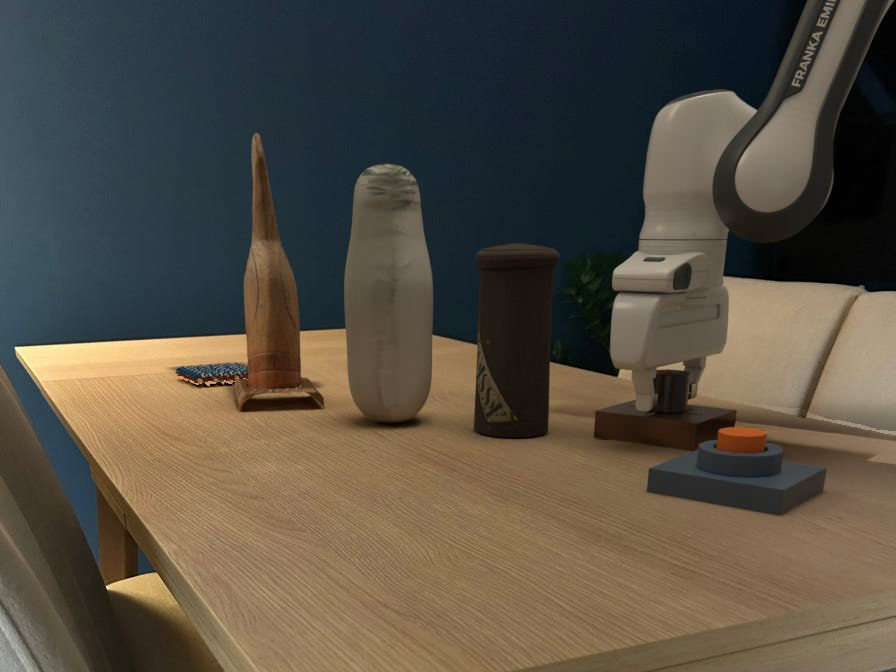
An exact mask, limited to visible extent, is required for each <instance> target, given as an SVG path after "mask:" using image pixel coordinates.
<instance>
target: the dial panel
mask: <svg viewBox="0 0 896 672" xmlns="http://www.w3.org/2000/svg"><path fill="white" fill-rule="evenodd" d="M635 405H636V399H633V400H629V401H625V402H622V403H618V404H614V405H611V406H606V407H603V408H599V409H596V410H595V412H594V427H593V438H595V437H596V439H603V440H612V441H619V442H625V443H632V444H639V445H646V446H653V447H659V448H660V447H661V448H668V449H674V450H680V451H689V452H693V451H695V450H698V445H699V444H700V443H703V442H705V441H709V440H717V438H718V431H719V429H722V428H729V427H736V420H737V411H738V410H737V409H733V408H732V409H731V408H723V407H714V406H708V405H707V406H706V405H699V404H689V403H687V410H686V411H684V412H680V413H660V412H653V411H647V412H646V411H639V410H637V409H636V407H635Z"/></svg>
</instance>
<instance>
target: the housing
mask: <svg viewBox="0 0 896 672" xmlns="http://www.w3.org/2000/svg"><path fill="white" fill-rule="evenodd" d="M716 446H717V440H709V441H705V442H703V443H700V444H699V445H698V450H695V451H689V452H688V453H684V454H682V455H679V456H677V457H674V458H671V459H668V460H666V461H663V462H661V463H659V464H656V465H653V466H651V467H649V468H648V474H647V484H646V493H650V494H657V495H662V496H668V497H674V498H679V499H683V500H684V499H685V500H689V501H696V502H701V503H702V502H703V503H708V504H714V505H717V506H724V507H731V508H735V509H742V510H747V511H752V512H756V513H757V512H758V513H764V514H768V515H769V514H770V515H775V516H782V515H784V514H786V513H788V512H789V511H791V510H792V509H794V508H796V507H798V506H800V505H801V504H803V503H805V502H807V501H809V500H811V499H813V498H814V497H816V496H817V495H819V494H821V493H823V492H824V487H825V481H826V475H827V468H828V467H826V466H819V465H813V464H805V463H797V462H792V461H784V460H783V456H784V450H783V448H782V447H781V446H780V445H777V444H773V443H770V442H767V441H766V443H765V450H764V452H760V453H735V452H728V451H722V450H719V449H716Z"/></svg>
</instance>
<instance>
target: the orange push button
mask: <svg viewBox="0 0 896 672" xmlns="http://www.w3.org/2000/svg"><path fill="white" fill-rule="evenodd" d="M767 434H768V433H767V432H766V430H762V429H758V428H754V427H753V428H752V427H744V426H743V427H742V426H735V427H729V428H722V429H719V431H718V438H717V446H716V449H719V450H722V451H728V452H735V453H760V452H764V450H765V443H766V442H767V437H768V435H767Z"/></svg>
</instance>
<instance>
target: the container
mask: <svg viewBox="0 0 896 672" xmlns="http://www.w3.org/2000/svg"><path fill="white" fill-rule="evenodd" d="M560 260H561V254H560V252H559V251H558V250H556V248H553V247H547V246H541V245H536V244H528V243H519V242H517V243H516V242H514V243H508V244H501V245H494V246H490V247H484V248H481V249H480V250H479V251H478V252H477V253H476V254H475V263H476V264H477V266H478V268H479V274H480V275H479V294H478V295H479V296H478V322H477V324H478V325H477V328H478V329H477V342H476V343H477V346H476V348H477V350H476V369H475V371H476V372H475V390H474V391H475V394H474V415H473V416H474V417H473V429H474V430H475V432H477V433H479V434H482V435H486V436H491V437H498V438H532V437H538V436H543V435H545V434H547V433H548V431H549V421H550V420H549V416H550V378H551V377H550V373H551V344H552V343H551V338H552V310H553V291H554V273H555V272H554V271H555V268H557V266H558V264H559V263H560Z"/></svg>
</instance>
